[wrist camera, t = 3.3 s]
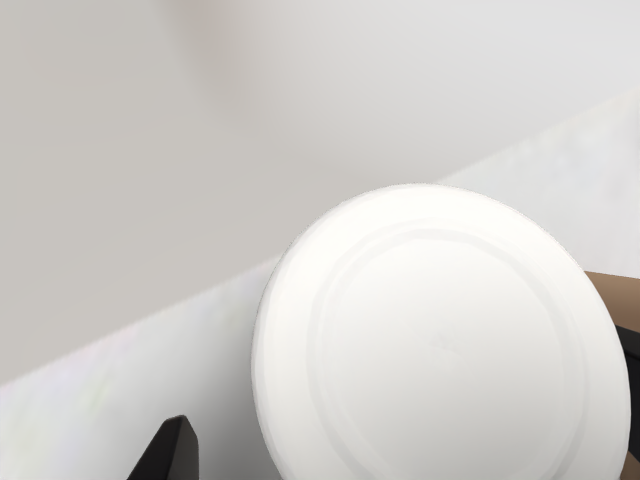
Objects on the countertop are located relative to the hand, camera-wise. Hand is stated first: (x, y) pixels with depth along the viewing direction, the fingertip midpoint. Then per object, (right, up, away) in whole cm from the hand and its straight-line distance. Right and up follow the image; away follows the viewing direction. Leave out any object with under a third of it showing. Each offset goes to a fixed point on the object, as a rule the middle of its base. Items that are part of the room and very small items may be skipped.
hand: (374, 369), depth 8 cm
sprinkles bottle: (-1, -2, +8) cm, 9 cm away
